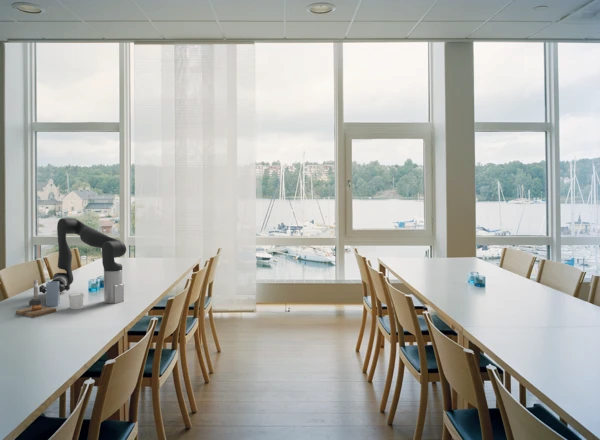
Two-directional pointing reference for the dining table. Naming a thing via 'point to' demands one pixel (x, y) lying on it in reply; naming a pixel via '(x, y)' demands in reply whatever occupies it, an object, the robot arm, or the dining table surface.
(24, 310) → the post stand
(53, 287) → the sleeve
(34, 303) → the ring
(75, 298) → the white cup
